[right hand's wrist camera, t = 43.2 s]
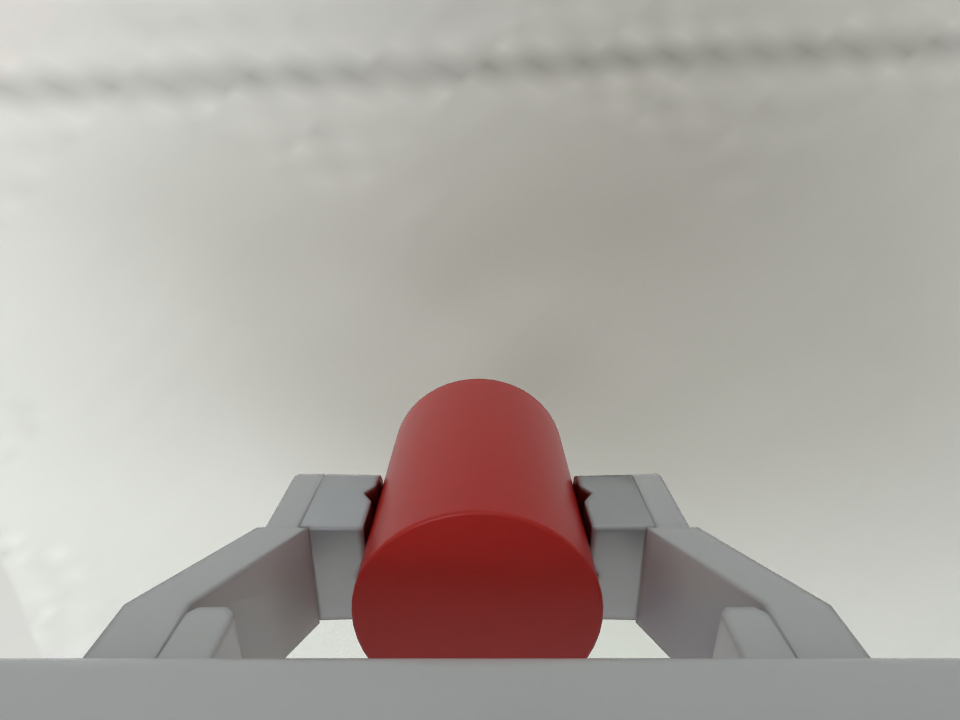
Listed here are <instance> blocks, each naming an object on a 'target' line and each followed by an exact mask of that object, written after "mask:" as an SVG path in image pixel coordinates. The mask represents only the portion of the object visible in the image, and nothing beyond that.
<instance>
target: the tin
mask: <svg viewBox="0 0 960 720" xmlns="http://www.w3.org/2000/svg"><path fill="white" fill-rule="evenodd" d="M351 613H352V620H353V626H354V629H355V632H356V636H357V639H358V641H359V643H360V645H361V647H362V649H363V651H364V653H365V654H366V655H367V657H368V658H587V657H588V656H589V654H590V652H591V651H592V649H593V647H594V646H595V643H596V641H597V638H598V636H599V633H600V629H601V624H602V620H603V597H602V591H601V588H600V584H599V580H598V576H597V573H596V569H595V565H594V562H593V558H592V554H591V551H590V547H589V543H588V539H587V536H586V532H585V528H584V525H583V521H582V517H581V514H580V510H579V506H578V502H577V499H576V495H575V491H574V488H573V484H572V480H571V476H570V473H569V469H568V465H567V462H566V458H565V454H564V451H563V447H562V443H561V439H560V436H559V432H558V429H557V427H556V425H555V423H554V420H553V419H552V417H551V416H550V414H549V413H548V411H547V410H546V409H545V408H544V407H543V406H542V404H541V403H539V402H538V401H537V400H536V399H535V398H534V397H532V396H531V395H529V394H528V393H527V392H525V391H523V390H521V389H519V388H517V387H515V386H513V385H510V384H507V383H504V382H500V381H495V380H488V379H468V380H462V381H457V382H453V383H449V384H446V385H444V386H442V387H439V388H437V389H435V390H434V391H432V392H430V393H428V394H427V395H426V396H424V397H423V398H422V399H420V400H419V401H418V402H417V403H416V404H415V405H414V406H413V407H412V408H411V410H410V411H409V412H408V414H407V415H406V417H405V419H404V420H403V422H402V424H401V426H400V429H399V432H398V435H397V438H396V442H395V445H394V449H393V452H392V456H391V459H390V463H389V466H388V470H387V473H386V477H385V480H384V484H383V487H382V491H381V494H380V498H379V501H378V505H377V508H376V512H375V515H374V519H373V522H372V526H371V529H370V533H369V536H368V540H367V544H366V547H365V551H364V554H363V558H362V561H361V565H360V568H359V572H358V575H357V579H356V582H355V586H354V590H353V596H352V609H351Z"/></svg>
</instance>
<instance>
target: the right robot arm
mask: <svg viewBox="0 0 960 720" xmlns="http://www.w3.org/2000/svg"><path fill="white" fill-rule="evenodd" d="M382 487H383V480H382V477H381V475H335V474H327V475H325V474H299V475H297V476H295V477H294V478H293V480H292V482H291V483H290V485H289V487H288V489H287V491H286V492H285V494H284V496H283V498H282V499H281V501H280V503H279V505H278V507H277V508H276V510H275V512H274V514H273V515H272V517H271V519H270V521H269V523H268V524H267V526H266V528H256V529H254V530H252V531H251V532H249V533H247V534H245V535H244V536H242V537H240V538H238V539H237V540H235V541H233V542H232V543H230V544H228V545H226V546H225V547H223V548H221V549H219V550H218V551H216V552H214V553H213V554H211V555H209V556H207V557H206V558H204V559H202V560H200V561H199V562H197V563H195V564H194V565H192V566H190V567H188V568H187V569H185V570H183V571H181V572H180V573H178V574H176V575H175V576H173V577H171V578H169V579H168V580H166V581H164V582H162V583H161V584H159V585H157V586H156V587H154V588H152V589H150V590H149V591H147V592H145V593H144V594H142V595H140V596H138V597H137V598H135V599H133V600H131V601H130V602H128V603H126V604H125V605H124V606H123V607H122V608H121V609H120V611H119V612H118V613H117V615H116V616H115V617H114V618H113V620H112V621H111V622H110V624H109V625H108V626H107V628H106V629H105V630H104V631H103V633H102V634H101V635H100V637H99V638H98V639H97V640H96V642H95V643H94V644H93V646H92V647H91V648H90V649H89V651H88V652H87V653H86V655H85V656H84V657H83V658H34V659H33V658H31V659H0V720H960V658H870V656H869V655H868V654H867V653H866V651H865V650H864V649H863V647H862V646H861V645H860V643H859V642H858V641H857V639H856V638H855V637H854V635H853V634H852V633H851V631H850V630H849V629H848V627H847V626H846V625H845V624H844V622H843V621H842V620H841V618H840V617H839V616H838V614H837V613H836V612H835V610H834V609H833V608H832V606H831V605H829V604H827V603H826V602H824V601H822V600H821V599H819V598H817V597H815V596H814V595H812V594H810V593H809V592H807V591H805V590H804V589H802V588H800V587H798V586H797V585H795V584H793V583H792V582H790V581H788V580H786V579H785V578H783V577H781V576H780V575H778V574H776V573H775V572H773V571H771V570H769V569H768V568H766V567H764V566H763V565H761V564H759V563H757V562H756V561H754V560H752V559H751V558H749V557H747V556H746V555H744V554H742V553H740V552H739V551H737V550H735V549H734V548H732V547H730V546H729V545H727V544H725V543H723V542H722V541H720V540H718V539H717V538H715V537H713V536H711V535H710V534H708V533H706V532H705V531H703V530H701V529H700V528H690V527H689V526H688V524H687V522H686V520H685V518H684V517H683V515H682V513H681V511H680V510H679V508H678V506H677V504H676V502H675V501H674V499H673V497H672V495H671V493H670V492H669V490H668V488H667V486H666V484H665V483H664V481H663V479H662V477H661V476H660V475H658V474H637V475H602V476H574V481H573V488H574V491H575V495H576V499H577V502H578V506H579V510H580V514H581V517H582V521H583V525H584V528H585V532H586V536H587V539H588V543H589V547H590V551H591V554H592V558H593V562H594V565H595V569H596V573H597V576H598V580H599V584H600V588H601V591H602V597H603V619H616V620H636V623H637V624H638V625H639V626H640V627H641V628H642V629H643V630H644V631H645V632H646V633H647V634H648V635H649V636H650V637H651V638H652V639H653V641H654V642H655V643H656V644H657V645H658V646H659V647H660V648H661V649H662V650H663V651H664V652H665V653H666V654H667V655H668V656H669V657H670V658H285V657H286V656H287V655H288V654H289V653H290V652H291V651H292V650H293V649H294V648H295V647H296V646H297V645H298V644H299V643H300V642H301V641H302V640H303V639H304V638H305V637H306V636H307V635H308V634H309V633H310V632H311V631H312V630H313V629H314V628H315V627H316V626H317V625H318V624H319V623H320V622H319V620H339V619H352V613H351V609H352V596H353V590H354V586H355V582H356V579H357V575H358V572H359V568H360V565H361V561H362V558H363V554H364V551H365V547H366V544H367V540H368V536H369V533H370V529H371V526H372V522H373V519H374V515H375V512H376V508H377V505H378V501H379V498H380V494H381V491H382Z"/></svg>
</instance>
